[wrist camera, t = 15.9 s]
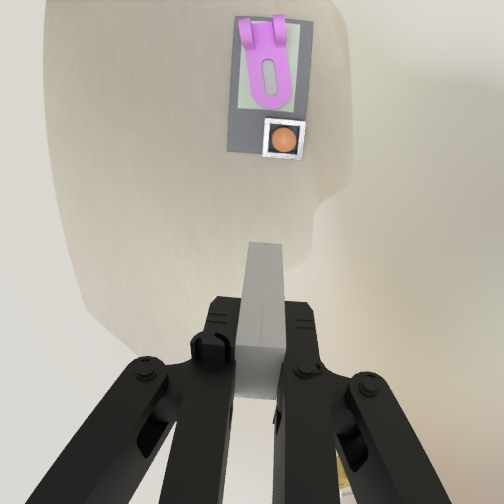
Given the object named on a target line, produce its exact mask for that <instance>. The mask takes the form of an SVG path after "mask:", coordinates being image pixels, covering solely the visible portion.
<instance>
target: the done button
mask: <svg viewBox="0 0 504 504" xmlns="http://www.w3.org/2000/svg"><path fill="white" fill-rule="evenodd" d="M272 143H273V146H274V147H275V149H277V150H278V151H280V152H288V151H291V150H292V149H293V148H294V147H295V145H296V137H295V135H294V133H293V131H292V129H291V128H289V127H287V126H279V127H277V128H275V129H274V131H273V133H272Z"/></svg>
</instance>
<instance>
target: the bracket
mask: <svg viewBox="0 0 504 504" xmlns="http://www.w3.org/2000/svg"><path fill="white" fill-rule="evenodd" d="M238 25H239V32H240V37H241V42H242V45H243V47H244V48H245V53H246V60H247V67H248V74H249V81H250V88H251V94H252V97H253V99H254V100H255V102H256V103H257V104H258V105H260V106H261V107H263V108H266V109H277V108H280V107H282V106H284V105H285V104H286V103H287V102H288V101H289V99H290V97H291V93H292V88H291V80H290V72H289V65H288V58H287V51H286V42H287V31H286V24H285V19H284V15H272V22H262V23H254V24H251V21H250V18H245V19H238ZM264 60H272V61H273V62H274V65H275V72H276V79H277V87H278V92H277V94H276V95H274V96H268V95H267V94H266V93H265V89H264V81H263V74H262V67H261V64H262V62H263V61H264Z"/></svg>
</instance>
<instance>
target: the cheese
mask: <svg viewBox="0 0 504 504" xmlns="http://www.w3.org/2000/svg"><path fill="white" fill-rule="evenodd" d="M336 458H337V469H338V480H339V489H342V488H345V487H348V486H350V484H349V481H348V479H347V476H346V473H345V471H344V468H343V466H342V463H341V461H340V458H339V456H338V457H336Z"/></svg>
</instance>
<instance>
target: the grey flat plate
mask: <svg viewBox="0 0 504 504" xmlns="http://www.w3.org/2000/svg"><path fill="white" fill-rule="evenodd" d="M245 18H250V21H251V24H254V23H262V22H272V18H268V17H249V16H235V24H234V38H233V53H232V69H231V86H230V104H229V123H228V145H227V152H241V153H256V154H262V153H263V140H264V126H265V116H270V117H281V118H292V119H301V120H304V121H305V118H306V107H307V96H308V85H309V73H310V61H311V47H312V33H313V22H309V21H301V20H292V19H285V24H286V31H287V42H286V51H287V58H288V65H289V72H290V80H291V88H292V93H291V97H290V99H289V101H288V102H287V103H286V104H285V105H284V106H282V107H280V108H277V109H266V108H263V107H261V106H260V105H258V104H257V103H256V102H255V100H254V99H253V97H252V94H251V88H250V81H249V74H248V67H247V60H246V53H245V48H244V47H243V45H242V42H241V37H240V32H239V25H238V19H245ZM261 67H262V74H263V81H264V89H265V93H266V94H267V95H268V96H274V95H276V94H277V92H278V87H277V79H276V72H275V65H274V62H273V61H272V60H264V61H263V62H262V64H261ZM279 126H287V127H289V128H291V129H292V131H293V133H294V135H295V137H296V143H297V132H298V126H294V125H284V124H272V123H270V129H269V142H268V148H271V149H275V147H274V146H273V143H272V133H273V131H274V129H275V128H277V127H279ZM292 150H293V151H296V145H295V147H294V148H293V149H292Z"/></svg>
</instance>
